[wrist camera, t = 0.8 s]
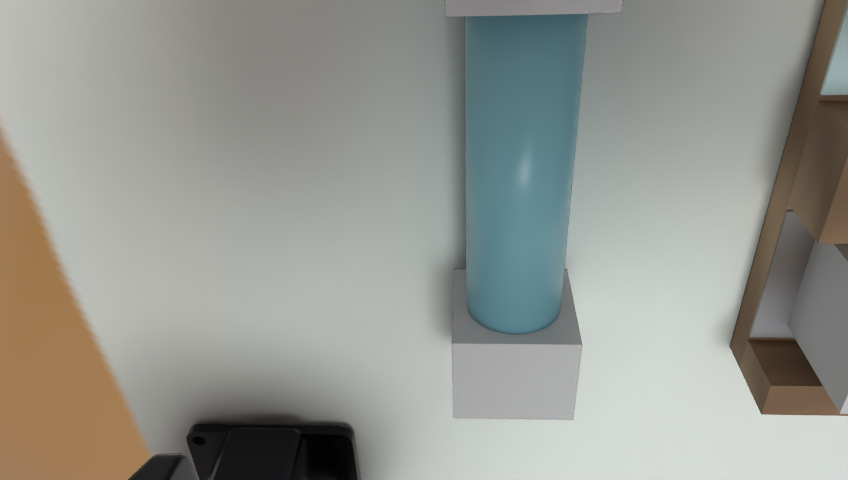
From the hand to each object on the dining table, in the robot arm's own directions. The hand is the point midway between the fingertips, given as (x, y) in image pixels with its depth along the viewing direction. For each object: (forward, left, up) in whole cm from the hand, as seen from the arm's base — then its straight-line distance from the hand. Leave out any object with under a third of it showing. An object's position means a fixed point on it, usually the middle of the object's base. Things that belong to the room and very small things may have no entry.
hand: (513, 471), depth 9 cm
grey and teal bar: (-1, -1, -12) cm, 12 cm away
